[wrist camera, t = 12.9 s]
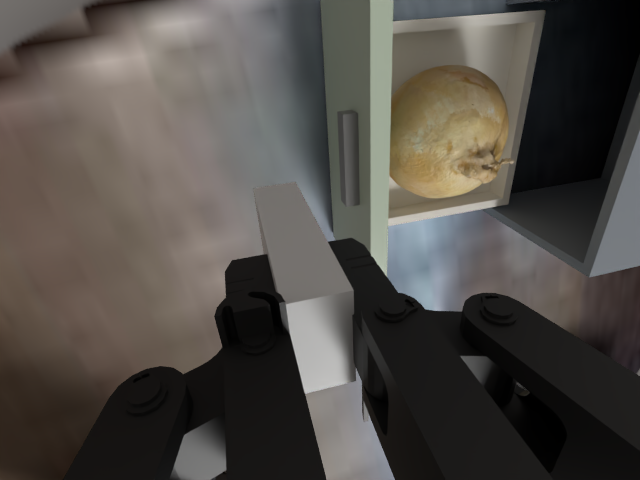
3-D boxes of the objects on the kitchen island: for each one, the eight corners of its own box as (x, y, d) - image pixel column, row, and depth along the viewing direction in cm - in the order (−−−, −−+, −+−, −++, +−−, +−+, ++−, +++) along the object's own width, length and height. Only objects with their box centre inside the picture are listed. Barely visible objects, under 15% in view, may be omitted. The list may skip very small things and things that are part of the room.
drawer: (323, 238, 29) (358, 299, 22) (306, 0, 21) (350, -20, 14) (486, 208, 31) (561, 255, 25) (522, -14, 24) (646, -35, 17)
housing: (476, 206, 31) (589, 277, 22) (508, -7, 24) (697, -37, 15) (604, 183, 34) (755, 238, 24) (668, -17, 26) (920, -49, 17)
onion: (355, 178, 26) (397, 220, 20) (376, 54, 23) (435, 59, 17) (453, 182, 29) (517, 221, 22) (485, 69, 25) (573, 79, 19)
